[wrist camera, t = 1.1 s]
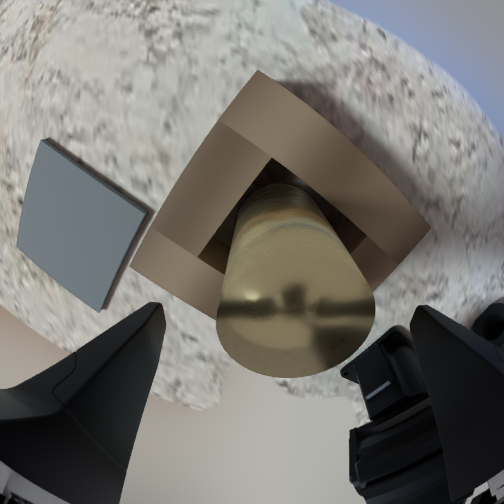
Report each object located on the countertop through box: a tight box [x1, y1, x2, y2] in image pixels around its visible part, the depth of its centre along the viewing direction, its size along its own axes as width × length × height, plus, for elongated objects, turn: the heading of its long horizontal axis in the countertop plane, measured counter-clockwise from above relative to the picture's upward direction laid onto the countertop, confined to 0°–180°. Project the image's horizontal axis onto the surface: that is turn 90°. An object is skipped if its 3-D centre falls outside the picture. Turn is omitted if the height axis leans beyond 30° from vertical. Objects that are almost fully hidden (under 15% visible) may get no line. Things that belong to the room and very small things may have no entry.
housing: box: [129, 70, 431, 320], centre depth 15 cm, size 12×12×3 cm
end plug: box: [216, 184, 375, 378], centre depth 12 cm, size 5×5×9 cm
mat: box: [16, 139, 148, 313], centre depth 16 cm, size 10×10×1 cm
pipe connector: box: [473, 303, 504, 351], centre depth 20 cm, size 12×5×15 cm
